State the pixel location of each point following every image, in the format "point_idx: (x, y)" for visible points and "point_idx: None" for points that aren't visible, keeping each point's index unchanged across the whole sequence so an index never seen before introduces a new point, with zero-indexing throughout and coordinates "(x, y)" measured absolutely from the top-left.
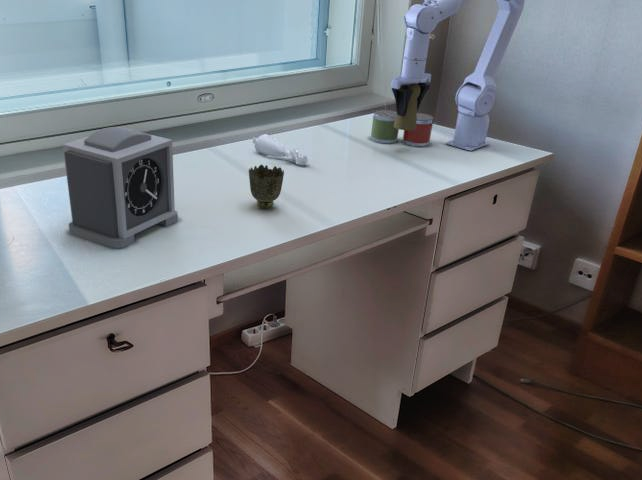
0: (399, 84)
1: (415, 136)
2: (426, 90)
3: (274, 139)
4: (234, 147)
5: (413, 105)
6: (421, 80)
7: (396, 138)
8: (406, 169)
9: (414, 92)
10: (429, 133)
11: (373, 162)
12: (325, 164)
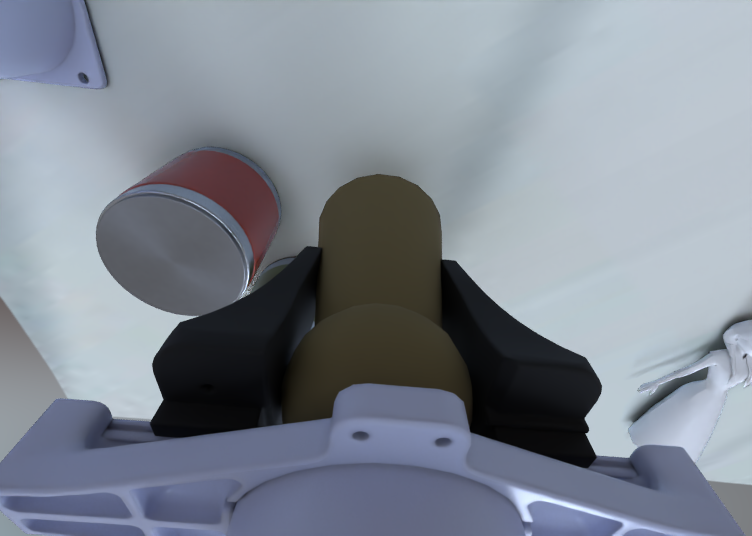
0: (690, 490)
1: (262, 201)
2: (226, 319)
3: (684, 441)
4: None
5: (407, 270)
6: (469, 438)
7: (287, 264)
8: (632, 19)
9: (442, 347)
10: (187, 163)
11: (598, 189)
12: (702, 287)
